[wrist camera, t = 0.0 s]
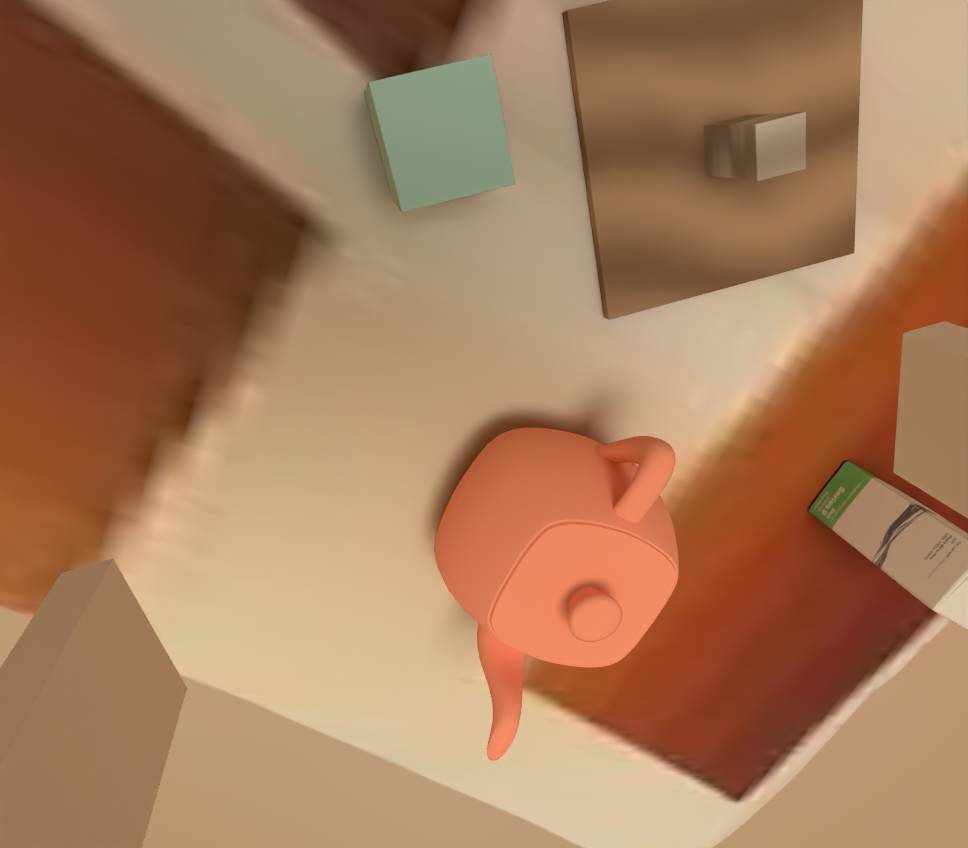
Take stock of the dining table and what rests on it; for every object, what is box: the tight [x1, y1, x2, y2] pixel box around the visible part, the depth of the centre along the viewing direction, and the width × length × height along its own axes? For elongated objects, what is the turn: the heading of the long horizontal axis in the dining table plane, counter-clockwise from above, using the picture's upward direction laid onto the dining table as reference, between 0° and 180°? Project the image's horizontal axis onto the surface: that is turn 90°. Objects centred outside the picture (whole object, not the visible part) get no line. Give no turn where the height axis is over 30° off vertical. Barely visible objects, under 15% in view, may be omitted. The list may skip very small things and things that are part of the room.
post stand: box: [563, 0, 863, 320], centre depth 34 cm, size 16×16×6 cm
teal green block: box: [364, 54, 515, 212], centre depth 31 cm, size 5×5×7 cm
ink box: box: [809, 461, 968, 630], centre depth 45 cm, size 9×5×12 cm, turn 58°
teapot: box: [434, 427, 678, 760], centre depth 39 cm, size 13×20×12 cm, turn 152°
